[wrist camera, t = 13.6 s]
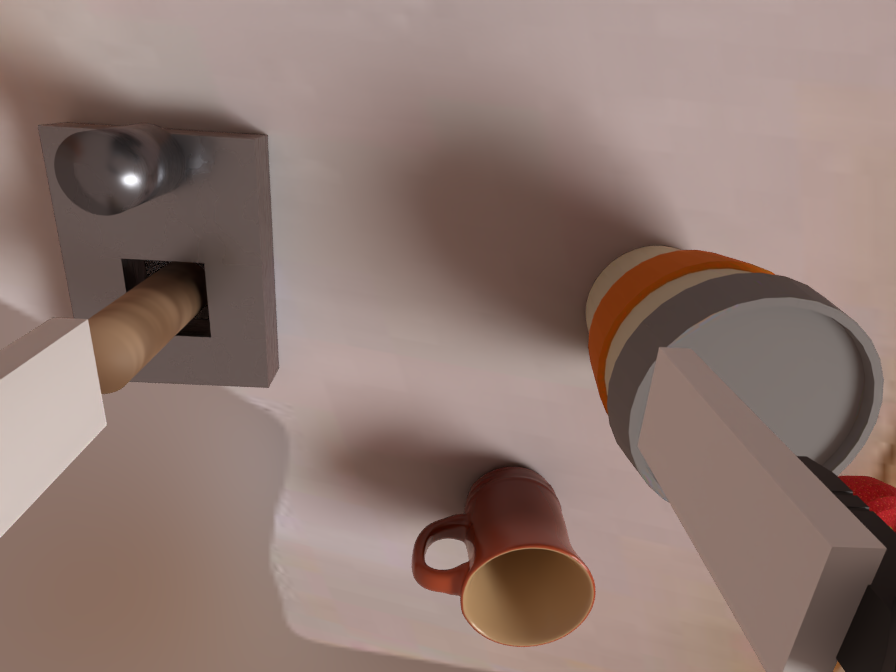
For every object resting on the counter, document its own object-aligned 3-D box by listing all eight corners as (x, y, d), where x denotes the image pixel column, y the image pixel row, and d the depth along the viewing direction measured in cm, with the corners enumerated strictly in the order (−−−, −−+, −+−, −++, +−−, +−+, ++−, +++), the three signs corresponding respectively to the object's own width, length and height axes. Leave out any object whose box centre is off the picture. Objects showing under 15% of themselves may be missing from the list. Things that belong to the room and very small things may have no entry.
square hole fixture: (66, 113, 36) (-42, 122, 28) (267, 126, 37) (219, 139, 29) (107, 360, 43) (30, 427, 34) (278, 368, 43) (243, 435, 35)
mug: (572, 456, 47) (608, 550, 38) (552, 544, 50) (581, 651, 41) (419, 444, 46) (417, 537, 37) (409, 534, 50) (404, 640, 40)
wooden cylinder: (155, 258, 40) (51, 325, 29) (211, 262, 40) (128, 330, 29) (160, 308, 41) (62, 391, 30) (214, 312, 42) (136, 396, 31)
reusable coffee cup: (548, 382, 44) (602, 518, 31) (574, 212, 40) (651, 282, 26) (714, 391, 45) (839, 527, 31) (759, 224, 40) (931, 299, 26)
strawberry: (863, 434, 47) (968, 520, 38) (862, 509, 50) (960, 606, 41) (786, 452, 47) (872, 541, 38) (790, 525, 50) (871, 625, 41)
